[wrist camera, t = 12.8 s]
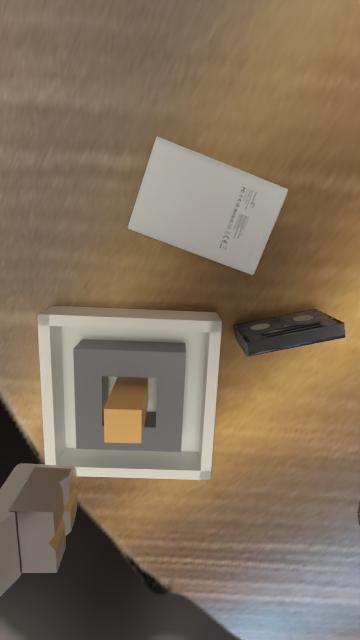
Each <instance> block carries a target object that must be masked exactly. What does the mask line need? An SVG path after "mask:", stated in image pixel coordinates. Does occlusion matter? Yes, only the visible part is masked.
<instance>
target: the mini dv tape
mask: <svg viewBox="0 0 360 640" xmlns="http://www.w3.org/2000/svg"><path fill="white" fill-rule="evenodd" d="M234 328H235V334H236V339H237V341H238V343H239V344H240V346H241V348H242V349H243V351H244V352H245V354H246V356H253V355H258V354H263V353H268V352H273V351H279V350H284V349H289V348H294V347H299V346H304V345H309V344H314V343H319V342H324V341H329V340H335V339H340V338H345V327H344V323H343V322H341V321H339V320H337V319H335V318H333V317H331V316H329V315H327V314H325V313H323V312H321V311H318V310H316V309H313V310H308V311H303V312H298V313H293V314H288V315H283V316H278V317H273V318H268V319H263V320H258V321H253V322H248V323H243V324H238V325H234Z"/></svg>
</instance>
